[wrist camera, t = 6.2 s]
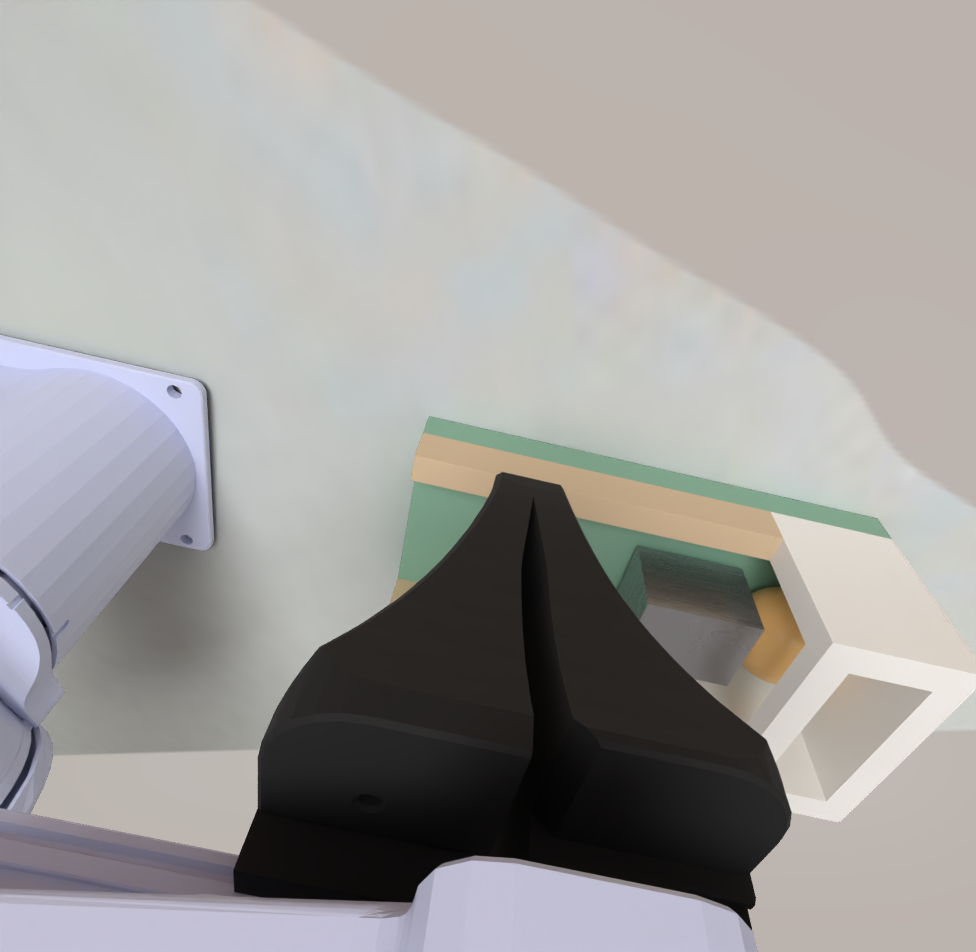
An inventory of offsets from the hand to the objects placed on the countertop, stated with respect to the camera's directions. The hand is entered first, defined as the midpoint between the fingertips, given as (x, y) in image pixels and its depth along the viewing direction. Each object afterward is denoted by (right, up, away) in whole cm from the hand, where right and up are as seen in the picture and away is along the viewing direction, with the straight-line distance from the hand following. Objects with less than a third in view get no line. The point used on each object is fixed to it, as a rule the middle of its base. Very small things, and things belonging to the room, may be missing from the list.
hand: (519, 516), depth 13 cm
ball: (+10, -5, +10) cm, 15 cm away
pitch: (+5, -2, +12) cm, 13 cm away
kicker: (+7, -3, +11) cm, 13 cm away
